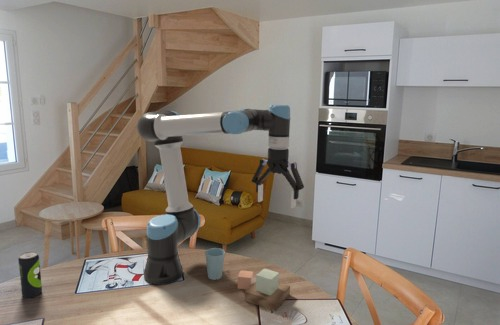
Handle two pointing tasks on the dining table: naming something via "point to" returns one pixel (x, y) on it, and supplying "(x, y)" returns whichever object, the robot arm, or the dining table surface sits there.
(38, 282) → the beverage can
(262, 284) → the pale green cube
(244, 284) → the terracotta cube
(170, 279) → the robot arm
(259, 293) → the walnut block
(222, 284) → the dining table surface
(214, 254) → the cup
